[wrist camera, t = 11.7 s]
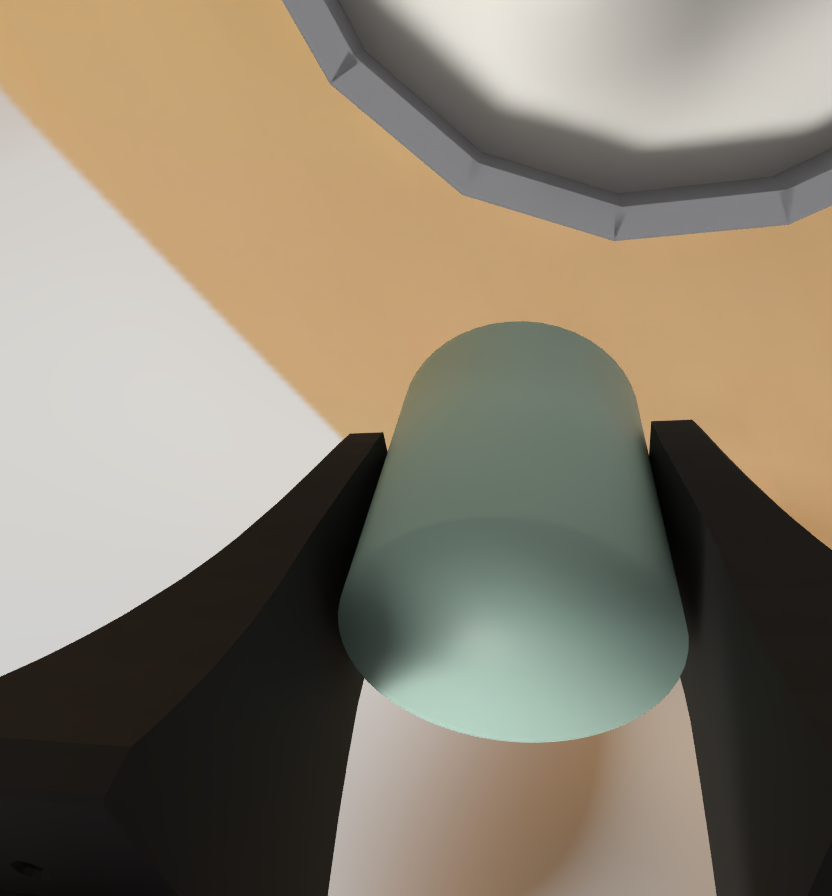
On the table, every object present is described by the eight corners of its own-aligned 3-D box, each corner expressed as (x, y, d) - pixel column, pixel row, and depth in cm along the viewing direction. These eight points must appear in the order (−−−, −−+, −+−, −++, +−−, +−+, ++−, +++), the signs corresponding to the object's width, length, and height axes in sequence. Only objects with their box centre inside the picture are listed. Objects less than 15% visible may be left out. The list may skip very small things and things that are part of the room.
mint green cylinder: (644, 311, 11) (705, 513, 7) (634, 514, 13) (675, 751, 9) (383, 331, 12) (300, 519, 8) (421, 517, 14) (372, 733, 10)
